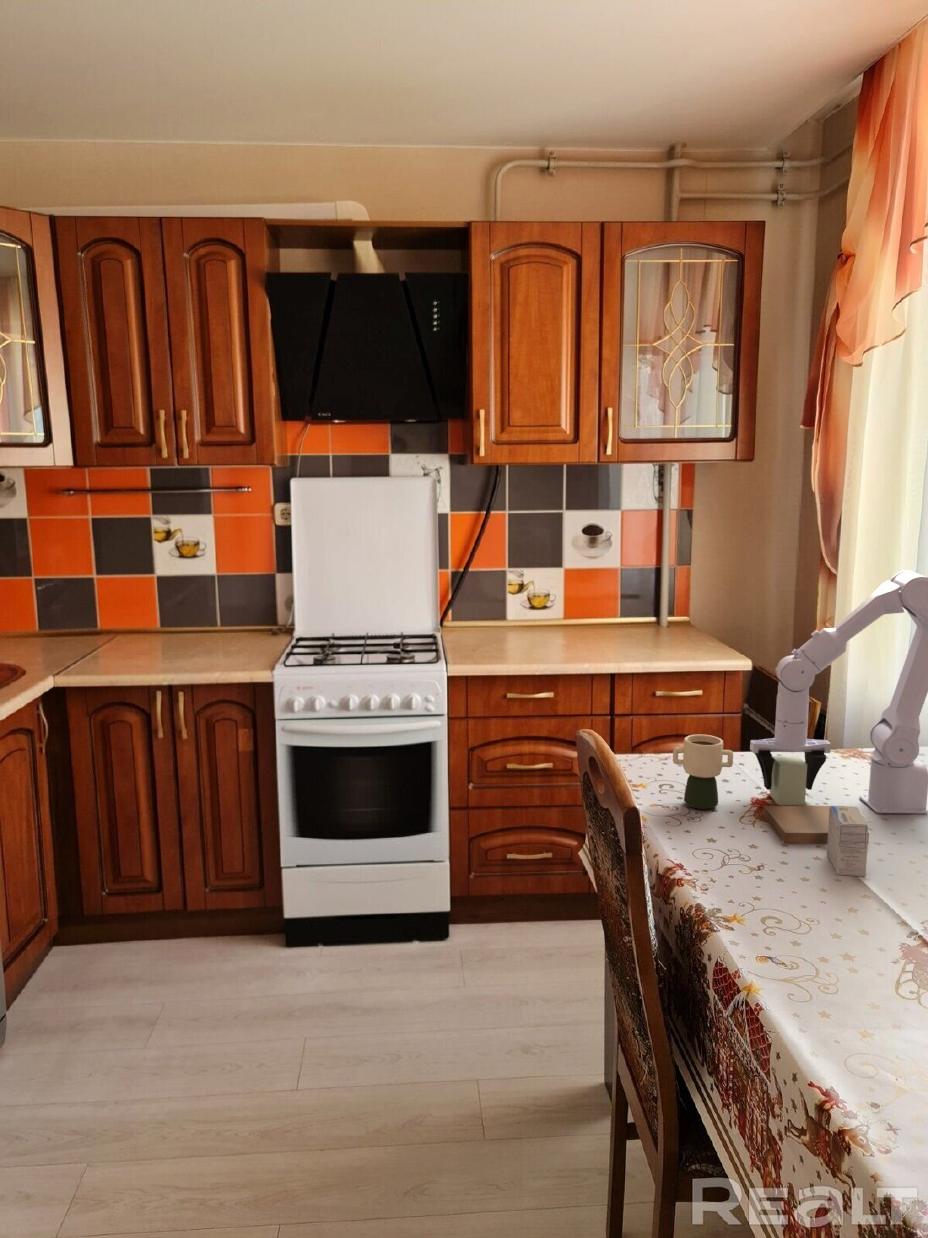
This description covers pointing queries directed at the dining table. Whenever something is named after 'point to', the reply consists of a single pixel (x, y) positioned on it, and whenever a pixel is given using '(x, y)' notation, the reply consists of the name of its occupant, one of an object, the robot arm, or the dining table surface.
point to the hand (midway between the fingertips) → (787, 788)
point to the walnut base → (799, 823)
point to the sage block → (789, 780)
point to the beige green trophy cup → (702, 768)
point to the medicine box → (847, 840)
